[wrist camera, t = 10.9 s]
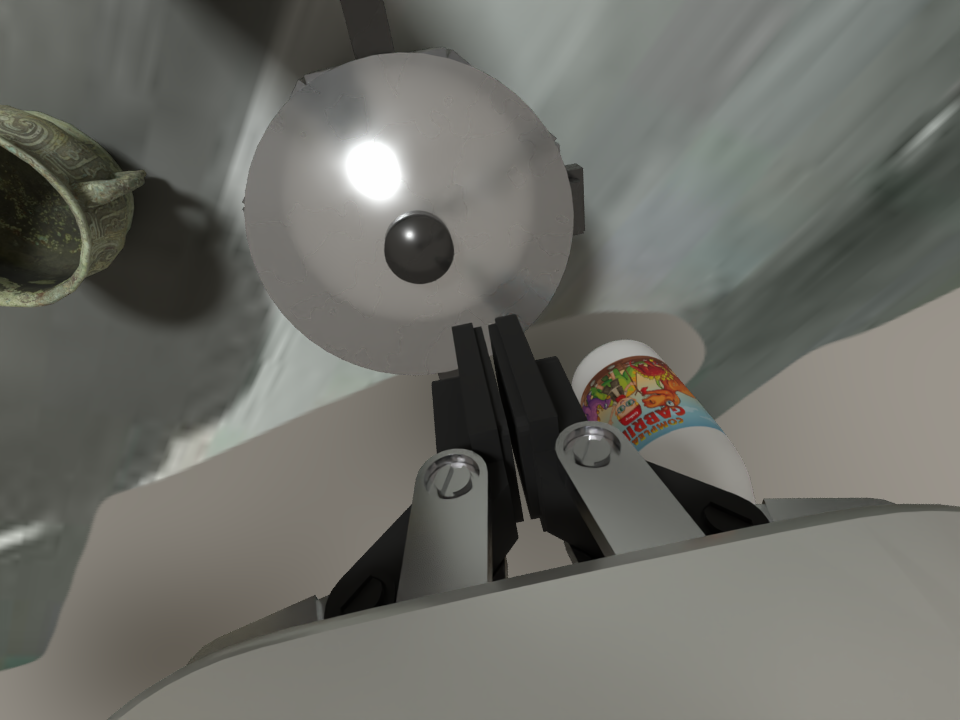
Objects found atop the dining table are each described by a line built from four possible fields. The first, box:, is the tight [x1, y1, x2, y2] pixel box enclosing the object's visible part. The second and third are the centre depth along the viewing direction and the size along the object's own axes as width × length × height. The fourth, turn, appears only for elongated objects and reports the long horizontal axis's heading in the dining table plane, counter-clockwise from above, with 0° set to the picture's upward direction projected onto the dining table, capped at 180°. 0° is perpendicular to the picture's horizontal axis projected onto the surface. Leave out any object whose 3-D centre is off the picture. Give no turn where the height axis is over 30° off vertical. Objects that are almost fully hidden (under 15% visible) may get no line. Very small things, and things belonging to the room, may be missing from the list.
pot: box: [242, 0, 585, 380], centre depth 25 cm, size 15×20×8 cm
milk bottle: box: [572, 340, 756, 504], centre depth 31 cm, size 8×8×20 cm
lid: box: [244, 52, 584, 375], centre depth 21 cm, size 15×14×2 cm
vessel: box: [0, 105, 146, 307], centre depth 23 cm, size 12×9×6 cm
